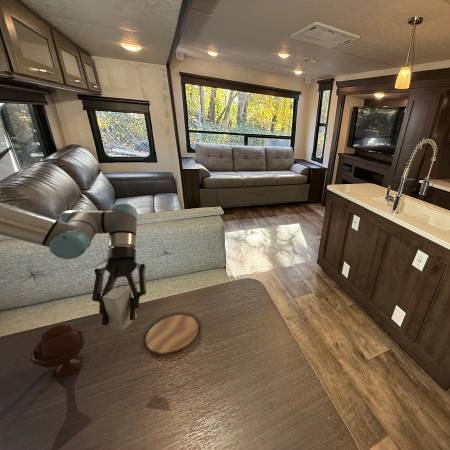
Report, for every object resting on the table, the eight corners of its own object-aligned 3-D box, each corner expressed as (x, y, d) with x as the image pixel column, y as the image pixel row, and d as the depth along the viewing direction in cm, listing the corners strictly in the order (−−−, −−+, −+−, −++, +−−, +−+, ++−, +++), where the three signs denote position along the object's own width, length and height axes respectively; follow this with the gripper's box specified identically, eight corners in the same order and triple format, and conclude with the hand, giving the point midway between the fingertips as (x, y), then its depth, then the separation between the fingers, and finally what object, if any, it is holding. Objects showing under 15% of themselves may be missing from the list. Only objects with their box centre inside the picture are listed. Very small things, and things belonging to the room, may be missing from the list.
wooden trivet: (134, 351, 78) (134, 349, 77) (164, 314, 92) (163, 312, 92) (184, 357, 77) (184, 355, 77) (205, 319, 92) (205, 318, 91)
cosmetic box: (124, 330, 76) (116, 299, 71) (110, 328, 76) (101, 297, 71) (137, 316, 81) (131, 286, 77) (124, 314, 82) (117, 284, 77)
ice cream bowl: (33, 375, 68) (13, 335, 62) (81, 346, 77) (68, 309, 72) (52, 395, 64) (32, 355, 58) (100, 362, 73) (88, 324, 67)
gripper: (157, 249, 88) (157, 316, 81) (91, 254, 81) (85, 329, 74) (152, 242, 82) (152, 315, 74) (81, 248, 75) (73, 329, 67)
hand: (119, 322), depth 74 cm, fingers closed on cosmetic box, 6 cm apart
